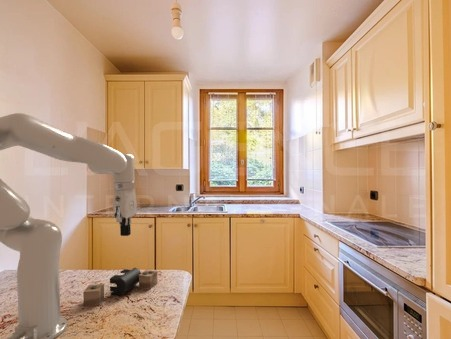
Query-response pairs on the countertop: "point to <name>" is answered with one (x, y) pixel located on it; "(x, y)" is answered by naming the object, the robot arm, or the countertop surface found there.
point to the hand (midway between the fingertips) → (125, 235)
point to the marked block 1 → (93, 295)
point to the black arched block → (124, 281)
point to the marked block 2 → (148, 279)
